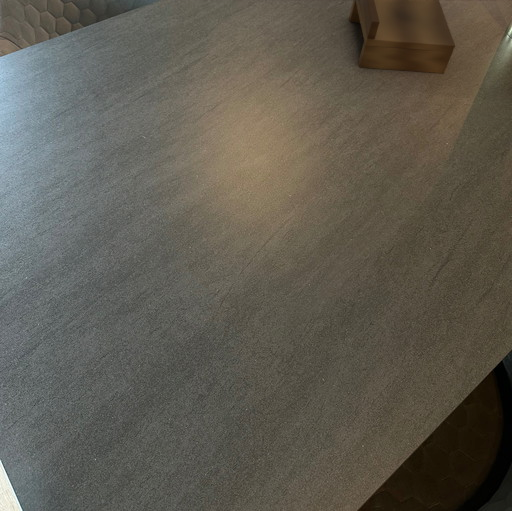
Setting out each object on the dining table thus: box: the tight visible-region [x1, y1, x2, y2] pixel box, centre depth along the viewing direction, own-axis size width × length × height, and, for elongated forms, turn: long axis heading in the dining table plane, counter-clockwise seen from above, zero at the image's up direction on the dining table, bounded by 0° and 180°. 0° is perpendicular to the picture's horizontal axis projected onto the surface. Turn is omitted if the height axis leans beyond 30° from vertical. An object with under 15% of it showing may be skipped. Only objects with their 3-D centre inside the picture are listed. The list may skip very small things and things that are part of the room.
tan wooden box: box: [348, 0, 456, 74], centre depth 101 cm, size 14×14×8 cm
